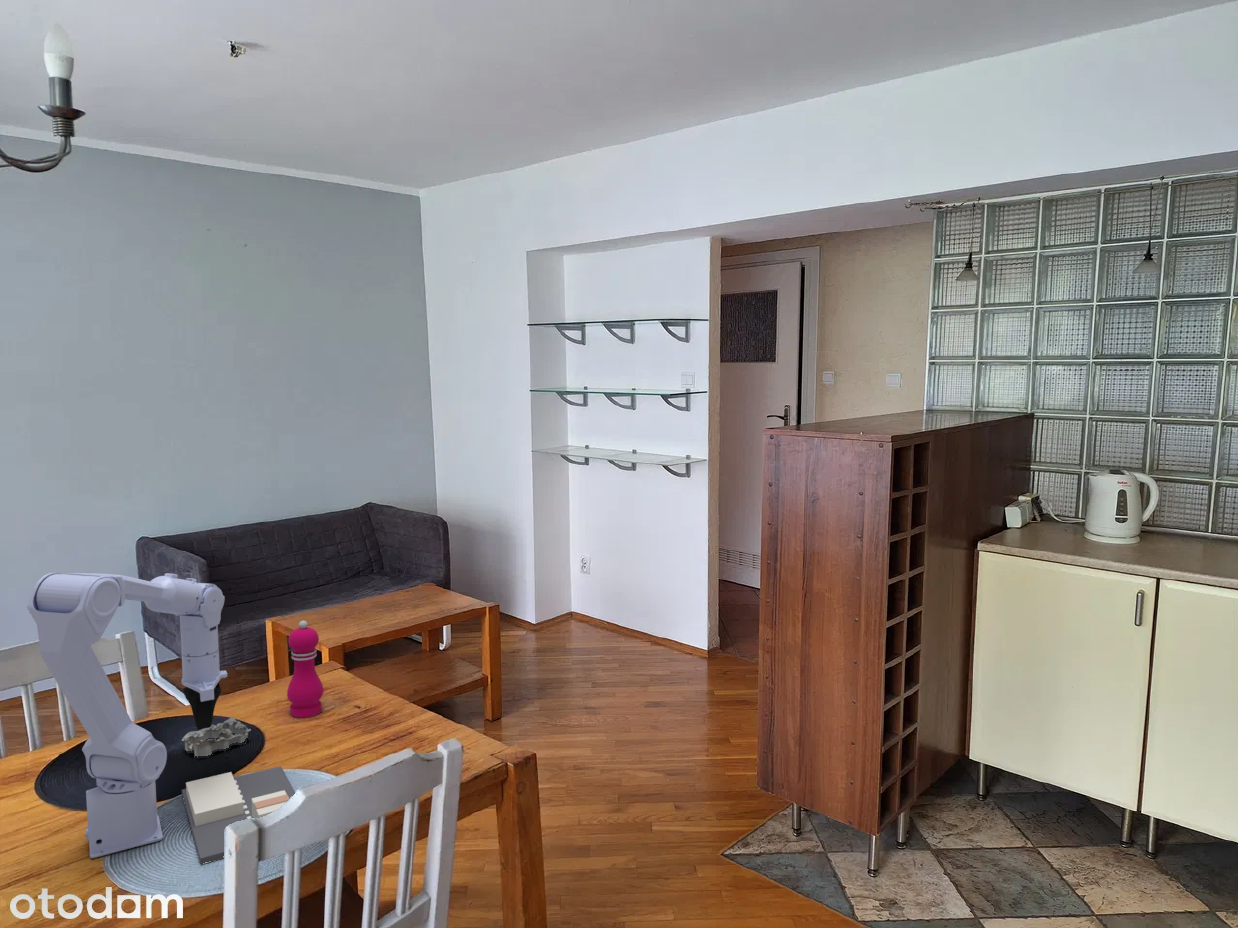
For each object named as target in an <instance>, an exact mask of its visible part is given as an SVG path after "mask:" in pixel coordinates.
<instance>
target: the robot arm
mask: <svg viewBox="0 0 1238 928" xmlns="http://www.w3.org/2000/svg"><path fill="white" fill-rule="evenodd" d="M178 577H179V576H178V574H175V573H169V572H167V573H164V575H160V576H157V577H154V578H153V579H151V580H150V581H149V580H144V579H141V578H135V577H133V576H128V575H123V574H116V573H115V574H114V573H113V574H111V573H98V572H97V573H94V572H93V573H91V572H89V573H88V572H87V573H85V572H82V573H81V572H70V573H67V574H64V573H62V572H50V573H47V574H45V575H43V576H42V577H40V578H39V579H38V580H37V582H36V583H35V584H34V587H33V589H32V592H31V594H30V597H29V600H28V602H27V606H26V608H27V610H28V611H29V614H30V615H31V617H32V619H33V621H34V622H35V624H36V626H37V627H36V629H37V635H38V643H39V644H38V645H39V651H40V655H41V657H42V660H43V661H44V663H45V664H46V667H47V668H48V669H49V671H50V673H51V675H52V677H53V678H54V680H55V681H56V683H57V685H58V686H59V688H60V690H61V692H62V693H63V695H64V697H65V698H66V700H67V701H68V703H69V705H70V706H71V708H72V710H73V712H74V713H75V715H76V717H77V719H78V720H79V722H80V723H81V725H82V726H83V728H84V730H85V732H86V734H87V735H88V737H89V738H87V740H86V741H85V743H84V745H83V746H82V749H81V751H82V752H83V755H84V756H85V757H84V758H85V764H86V766H85V767H86V771H87V774H88V775H89V776H90V777H91V778H93V779H95V780H96V786H97V787H94V788H90V789H88V790H85V795H86V797H85V798H86V799H85V800H86V814H87V827H85V840H86V841H88V845H89V846H88V847H89V858H90V859H95V858H99V857H103V856H106V855H110V854H114V853H118V852H122V851H125V850H128V849H133V848H135V847H136V848H137V847H140V846H145V845H148V844H152V843H156V842H159V841H162V840H163V838H164V835H163V831H162V826H161V821H160V816H159V815H158V809H157V808H158V805H157V789H156V787H157V785H156V781H157V780H158V779H159V778H160V775H161V774H162V773H163V771H164V769H165V767H166V764H167V760H168V753H167V748H166V745H165V744H164V743H163V742H161V741H159V740H157V739H156V738H155V737H154V736H153V734H152V732H150V731H149V730H147V729H146V728H143V727H142V726H139V725H137V724H136V723H135V722H133V721H132V719H131V718H130V715H129V714H128V712H127V709H126V708H125V706H124V705H123V703H122V701H121V699H120V697H119V695H118V693H117V691H116V690H115V688H114V686H113V685H112V683H111V681H110V679H109V677H108V675H107V674H106V671H105V670H104V668H103V666H102V665H101V663H100V661H99V659H98V657H97V655H96V654H95V652H94V650H93V648H92V645H94V644H95V643H97V642H99V641H100V640H101V638H102V636H103V635H104V632H105V631H106V629H107V628H108V626H109V624H110V622H111V620H112V619H113V617H114V615H115V613H116V612H117V610H118V608H119V607H122V606H123V607H124V604H125V600H127V601H136V602H137V601H138V602H143V603H144V604H145V606H146V608H147V609H149V610H150V611H152V612H155V613H164V614H172V615H174V616H176V617H178V616H179V626H180V627H179V629H180V644H181V645H180V648H181V649H180V650H181V668H182V669H181V670H182V671H181V672H182V678H181V684H182V685H183V686H184V687H183V688H182V692H183V695H184V698H185V699H186V701H187V702H188V703H189V705H190V708H191V711H192V715H193V721H194V723H195V727H196V729H197V731H200V730H202V729H205V728H210V727H211V725H213V718H214V713H215V712H214V711H215V707H216V704H217V702H218V699H219V697H220V695H221V693H222V687H221V686H220V683H219V681H221V679H225V678H227V677H228V672H227V670H220V653H219V652H220V650H219V630H218V629H219V627H218V626H219V625H220V624H221V623H220V621H221V619H222V618H221V613H222V610H223V607H224V604H225V595H223V591H222V589H220V587H218V586H217V585H216V584H214V583H206V582H205V583H204V582H197V579H196V578H193V577H192V578H189V577H187V578H186V579H182V578H178Z"/></svg>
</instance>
